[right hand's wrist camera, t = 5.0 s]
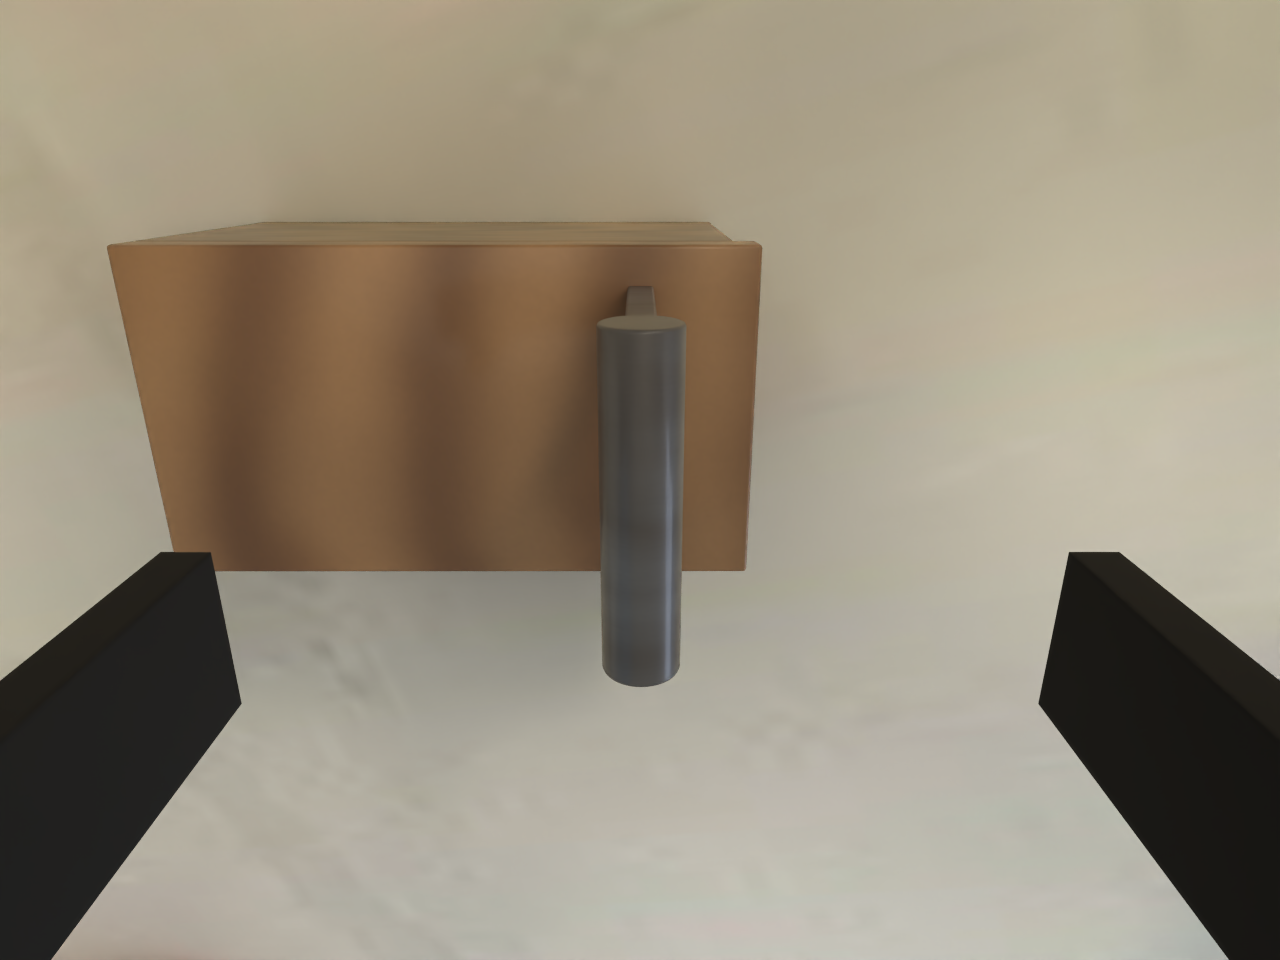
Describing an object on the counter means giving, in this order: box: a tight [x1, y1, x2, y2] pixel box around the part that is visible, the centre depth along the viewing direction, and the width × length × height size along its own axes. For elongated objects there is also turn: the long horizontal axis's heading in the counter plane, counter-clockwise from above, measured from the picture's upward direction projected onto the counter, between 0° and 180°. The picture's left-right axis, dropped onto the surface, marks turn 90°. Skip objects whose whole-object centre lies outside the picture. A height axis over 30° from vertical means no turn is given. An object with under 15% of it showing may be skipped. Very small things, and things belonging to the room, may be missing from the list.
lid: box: [107, 241, 762, 687], centre depth 21 cm, size 17×10×8 cm, turn 90°
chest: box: [138, 222, 732, 241], centre depth 29 cm, size 17×10×9 cm, turn 90°
